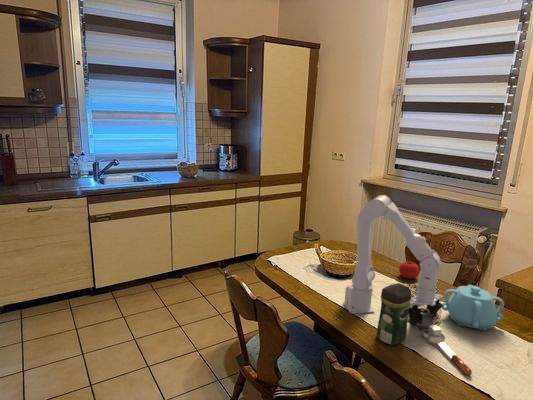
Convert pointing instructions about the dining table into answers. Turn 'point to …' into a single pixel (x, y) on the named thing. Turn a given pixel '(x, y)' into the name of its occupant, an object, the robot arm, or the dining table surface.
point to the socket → (424, 319)
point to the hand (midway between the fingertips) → (421, 322)
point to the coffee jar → (394, 314)
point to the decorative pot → (473, 307)
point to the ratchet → (444, 347)
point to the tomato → (409, 270)
